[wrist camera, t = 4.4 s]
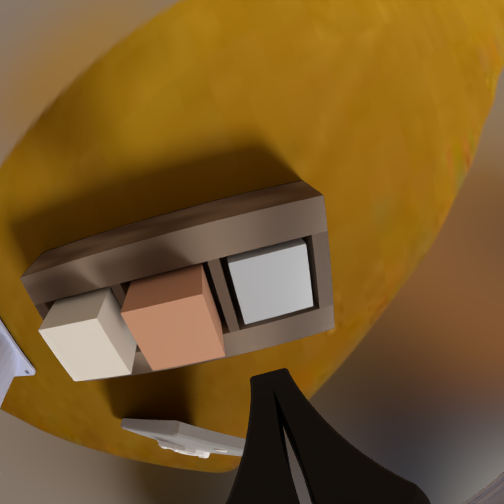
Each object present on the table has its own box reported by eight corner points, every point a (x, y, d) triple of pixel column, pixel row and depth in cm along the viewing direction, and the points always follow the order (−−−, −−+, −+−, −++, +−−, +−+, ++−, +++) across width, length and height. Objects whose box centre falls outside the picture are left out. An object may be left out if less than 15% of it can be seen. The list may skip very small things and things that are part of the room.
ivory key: (85, 349, 18) (74, 381, 15) (55, 300, 16) (38, 330, 13) (137, 340, 18) (131, 374, 15) (110, 286, 16) (96, 318, 13)
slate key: (238, 296, 20) (245, 324, 18) (223, 240, 18) (228, 263, 16) (299, 280, 21) (313, 305, 18) (290, 223, 19) (306, 243, 16)
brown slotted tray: (95, 349, 21) (85, 381, 18) (42, 252, 17) (19, 277, 14) (317, 298, 22) (334, 328, 19) (302, 180, 18) (323, 195, 15)
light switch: (117, 434, 24) (169, 448, 15) (131, 384, 28) (190, 364, 19) (190, 456, 28) (277, 469, 18) (200, 410, 31) (286, 398, 22)
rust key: (157, 336, 18) (153, 370, 15) (131, 281, 16) (120, 313, 14) (221, 322, 18) (225, 356, 16) (201, 263, 16) (202, 293, 14)
